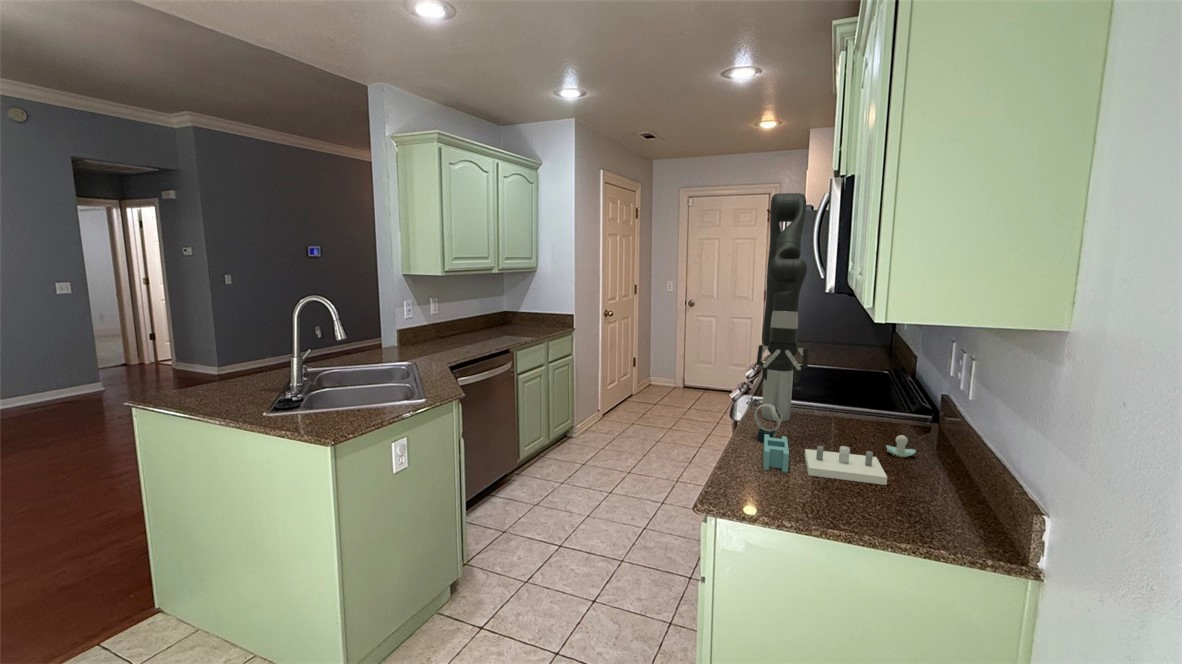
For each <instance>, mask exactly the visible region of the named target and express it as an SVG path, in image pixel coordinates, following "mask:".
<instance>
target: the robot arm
mask: <svg viewBox="0 0 1182 664" xmlns="http://www.w3.org/2000/svg"><path fill="white" fill-rule="evenodd" d="M769 207H770V209H769V210H770V211H769V212H770V215H769V218H770V219H769V225H770V226H769V249H768V259H767V270H766V290H765V291H766V292H765V293H766V297H765V308H764V315H763V323H762V325H763V326H762V331H761V342H762V344H759V345H758V349H757V357H756V365H757V366H760V367H762V371H761V372H762V374H761V375H762V377H761V378H762V379H763V385H762V386H763V390H762V400H761V401H762V404H772V405H774V406H776V407H777V408H778V409H779V411H780V413H781V416H782V422H788V421H790V420H791V410H792V409H791V408H792V393H793V382H794V384H795V383H798V382H800V380H801V375H802V374H801V372H802V370H804V369H807V368H808V367H809V364H808V363H809V361H808V358H809V351H808V350H809V349H808V348H806V347H798V346H797V343H798V328H799V299H800V294H801V290H802V287H803V284H804V281H805V279H806V276H807V273H808V264H807V263H806V261H805V260H803V259H801V258H800V257H801V255H802V254H801V253H802V251H801V249H802V248H801V247H802V245H801V244H802V235H803V230H804V225H805V221H806V214H807V213H806V212H807V197H806V196H805V194H803V193H800V192H799V193H798V192H794V193H793V192H790V193H789V192H788V193H787V192H785V193H781V192H780V193H774V194H773V195H772V198H771V200H770V206H769ZM781 222H782V223H787V222H788V223H789V225H787V226H786V227H785V228H784V229H783V230H782V228H781V225H780V224H781ZM766 351H768V353H769V354H770V355H769V357H768V358H766V359H765V361H762V356H763V354H764V353H765V352H766ZM798 352H799V354H800V356H802V364H799V363H798V361H797V359H796V358H795V356H796V354H797V353H798ZM794 367H795V368H794ZM794 369H795V370H794ZM762 404H761V405H762ZM761 418H762V419H765V420H767V421H772V422H776V421H775V419H774V418H773V416H772V413H771V410H770V408H769V407H768V406H767V407H765V406H764V407H761ZM782 422H781V423H782Z"/></svg>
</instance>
